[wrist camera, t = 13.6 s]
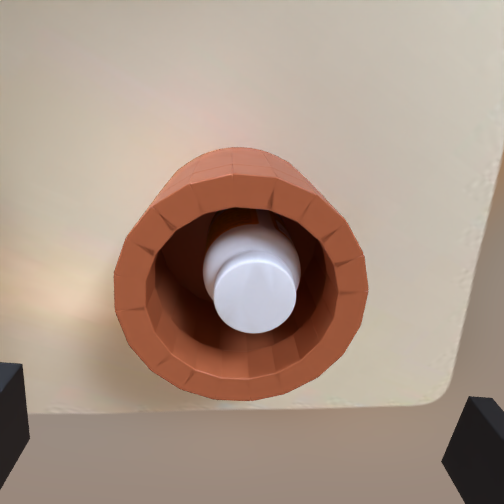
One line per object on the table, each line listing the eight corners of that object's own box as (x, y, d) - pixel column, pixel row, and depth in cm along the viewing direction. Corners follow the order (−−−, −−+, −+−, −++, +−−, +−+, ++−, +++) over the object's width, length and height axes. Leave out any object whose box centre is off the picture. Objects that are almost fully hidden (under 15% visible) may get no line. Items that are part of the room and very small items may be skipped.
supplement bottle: (199, 256, 28) (184, 331, 19) (221, 185, 26) (217, 231, 17) (269, 277, 29) (287, 358, 20) (296, 209, 27) (328, 265, 18)
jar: (228, 106, 25) (227, 112, 16) (357, 225, 29) (418, 287, 19) (117, 243, 28) (62, 315, 19) (246, 336, 32) (253, 436, 22)
